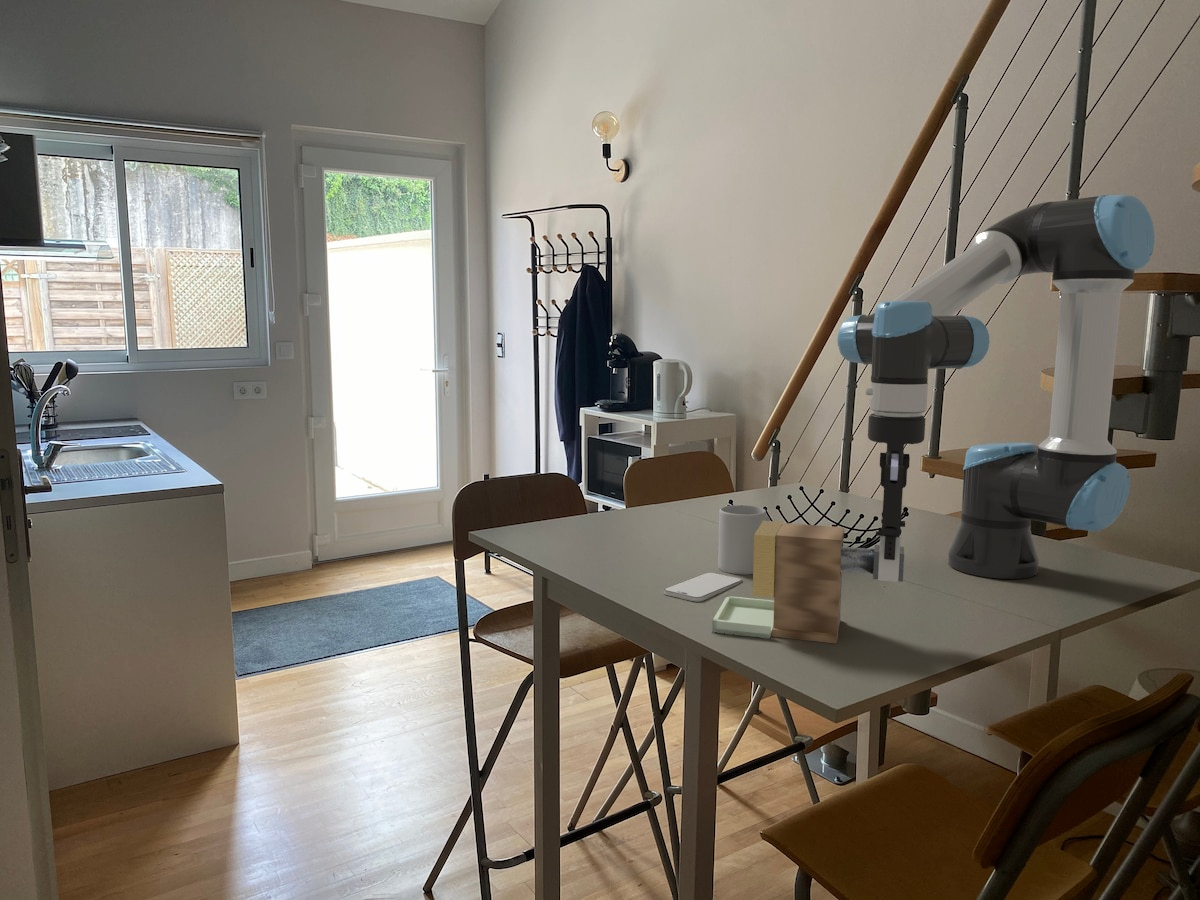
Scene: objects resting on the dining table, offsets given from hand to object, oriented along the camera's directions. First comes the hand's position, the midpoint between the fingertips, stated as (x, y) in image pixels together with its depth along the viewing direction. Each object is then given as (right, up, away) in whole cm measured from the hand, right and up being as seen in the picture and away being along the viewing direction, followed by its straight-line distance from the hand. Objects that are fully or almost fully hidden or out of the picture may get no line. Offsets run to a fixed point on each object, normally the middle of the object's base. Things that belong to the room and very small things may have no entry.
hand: (888, 575), depth 126 cm
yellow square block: (-16, -3, +6) cm, 17 cm away
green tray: (-19, -8, +7) cm, 22 cm away
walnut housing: (-10, -9, +5) cm, 14 cm away
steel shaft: (-8, 0, +2) cm, 8 cm away
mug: (-14, -4, +37) cm, 40 cm away
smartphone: (-23, -6, +25) cm, 35 cm away
